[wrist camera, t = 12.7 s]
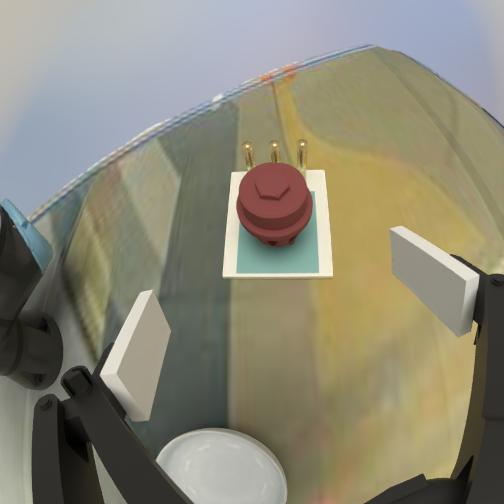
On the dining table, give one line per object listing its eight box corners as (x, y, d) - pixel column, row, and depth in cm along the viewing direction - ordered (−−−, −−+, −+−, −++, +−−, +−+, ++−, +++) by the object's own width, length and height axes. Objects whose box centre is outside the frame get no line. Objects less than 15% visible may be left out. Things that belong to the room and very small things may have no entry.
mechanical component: (238, 255, 46) (252, 199, 49) (305, 265, 44) (313, 207, 48) (220, 213, 35) (240, 148, 38) (309, 225, 33) (318, 156, 36)
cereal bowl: (152, 477, 34) (130, 489, 28) (209, 399, 39) (194, 403, 32) (245, 536, 29) (238, 558, 23) (312, 461, 34) (315, 476, 27)
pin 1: (249, 183, 51) (241, 148, 43) (250, 177, 51) (242, 141, 43) (258, 183, 51) (251, 147, 42) (258, 177, 51) (251, 141, 43)
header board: (223, 278, 46) (222, 276, 45) (232, 175, 53) (231, 172, 52) (332, 278, 44) (333, 276, 43) (323, 173, 51) (324, 169, 50)
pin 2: (273, 183, 50) (269, 147, 42) (273, 176, 51) (269, 140, 43) (282, 182, 50) (279, 146, 42) (282, 176, 51) (279, 139, 42)
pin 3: (297, 182, 50) (297, 146, 42) (297, 176, 50) (297, 139, 42) (306, 182, 50) (307, 146, 41) (305, 175, 50) (306, 139, 42)
